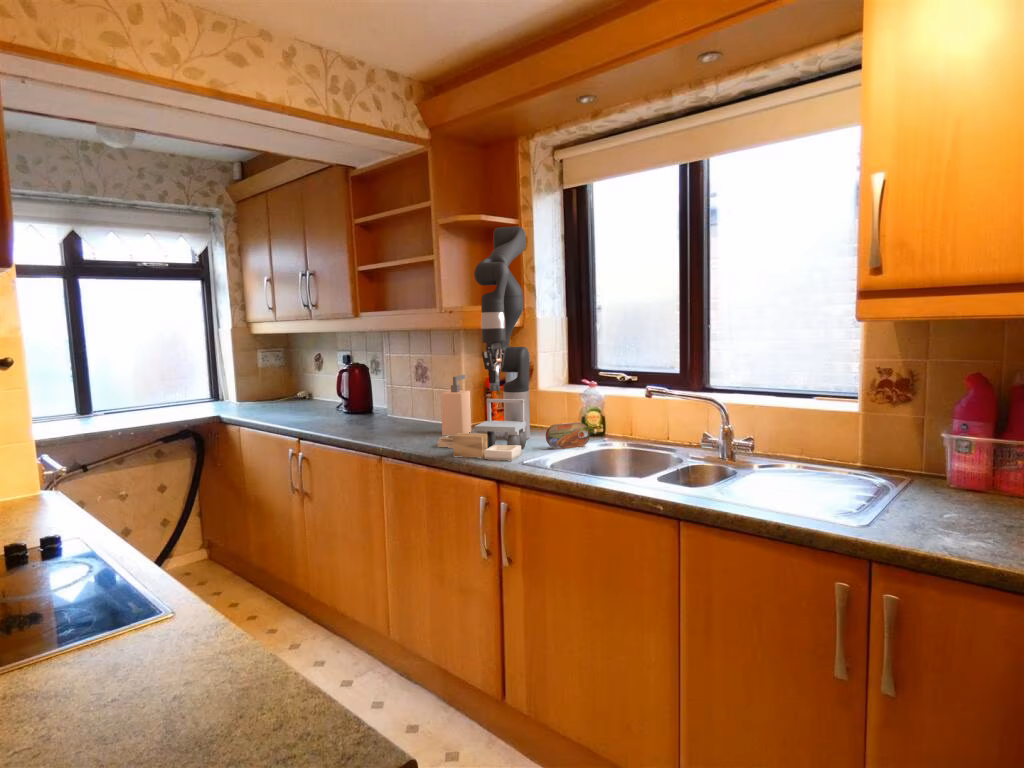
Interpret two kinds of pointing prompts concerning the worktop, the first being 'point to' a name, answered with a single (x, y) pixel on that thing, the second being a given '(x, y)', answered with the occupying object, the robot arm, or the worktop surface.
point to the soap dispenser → (455, 409)
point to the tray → (502, 452)
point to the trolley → (504, 425)
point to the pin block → (446, 441)
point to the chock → (469, 444)
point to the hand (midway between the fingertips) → (494, 382)
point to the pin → (496, 385)
